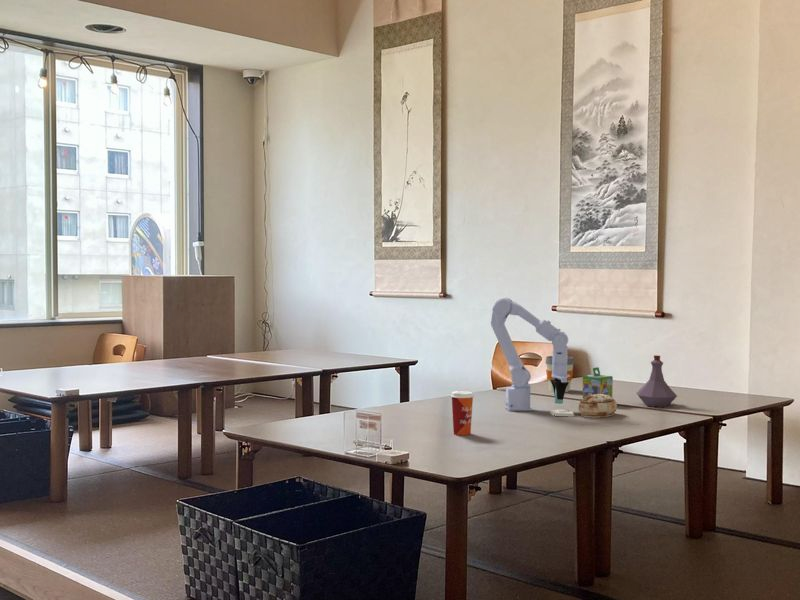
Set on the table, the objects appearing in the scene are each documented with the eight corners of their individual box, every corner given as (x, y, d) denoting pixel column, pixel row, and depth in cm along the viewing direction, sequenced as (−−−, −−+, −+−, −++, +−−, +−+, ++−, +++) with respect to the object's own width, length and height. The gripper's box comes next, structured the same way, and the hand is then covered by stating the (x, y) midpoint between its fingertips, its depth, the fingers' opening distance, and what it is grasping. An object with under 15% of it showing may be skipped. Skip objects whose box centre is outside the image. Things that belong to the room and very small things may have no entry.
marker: (556, 403, 352) (556, 385, 352) (554, 402, 355) (554, 384, 355) (564, 403, 352) (564, 385, 352) (562, 402, 355) (562, 384, 355)
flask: (627, 402, 375) (628, 354, 374) (663, 401, 380) (663, 353, 379) (649, 409, 359) (650, 358, 359) (685, 407, 364) (686, 357, 363)
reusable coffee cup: (579, 390, 411) (579, 357, 410) (563, 393, 402) (563, 359, 401) (555, 387, 419) (555, 355, 419) (539, 390, 410) (539, 357, 410)
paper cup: (466, 437, 301) (467, 394, 301) (446, 434, 305) (446, 392, 305) (477, 433, 308) (478, 391, 307) (457, 430, 312) (457, 390, 311)
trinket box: (618, 413, 350) (618, 392, 350) (612, 419, 336) (613, 398, 336) (583, 411, 355) (583, 391, 354) (576, 417, 341) (576, 396, 340)
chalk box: (601, 406, 365) (602, 369, 365) (581, 404, 372) (582, 367, 371) (613, 404, 372) (613, 367, 372) (593, 401, 378) (593, 366, 378)
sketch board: (555, 416, 341) (555, 413, 341) (550, 413, 349) (550, 409, 349) (573, 416, 342) (573, 413, 342) (568, 412, 350) (568, 409, 350)
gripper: (574, 365, 346) (574, 401, 346) (565, 361, 360) (564, 395, 361) (556, 365, 345) (555, 401, 346) (547, 361, 360) (546, 395, 360)
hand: (559, 398), depth 353 cm, fingers closed on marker, 3 cm apart
